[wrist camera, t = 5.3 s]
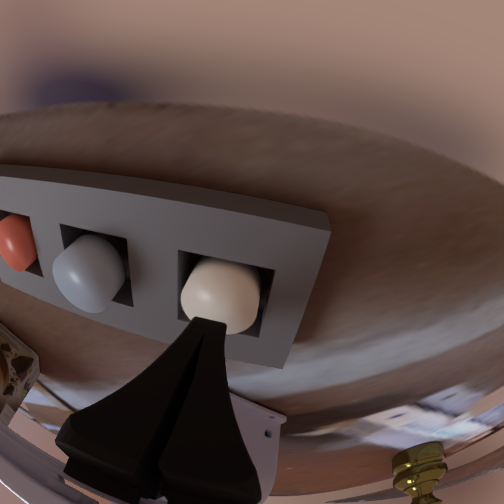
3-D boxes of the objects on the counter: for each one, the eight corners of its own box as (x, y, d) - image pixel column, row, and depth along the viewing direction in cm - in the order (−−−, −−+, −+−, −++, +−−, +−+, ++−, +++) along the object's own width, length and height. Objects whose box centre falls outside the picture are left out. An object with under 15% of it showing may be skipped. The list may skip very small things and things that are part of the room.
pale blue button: (123, 241, 14) (102, 263, 12) (129, 297, 15) (113, 321, 14) (68, 228, 14) (46, 247, 12) (78, 281, 15) (61, 302, 14)
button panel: (326, 212, 13) (331, 232, 12) (284, 344, 18) (282, 368, 16) (-6, 163, 14) (-26, 173, 12) (16, 268, 19) (1, 281, 17)
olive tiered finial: (387, 453, 27) (391, 522, 19) (444, 434, 24) (455, 504, 16) (393, 466, 30) (397, 524, 21) (442, 450, 27) (450, 509, 19)
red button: (40, 212, 15) (19, 227, 13) (49, 260, 16) (32, 277, 15) (8, 205, 15) (-11, 218, 13) (18, 250, 17) (1, 264, 15)
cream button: (267, 259, 14) (263, 285, 12) (255, 314, 16) (250, 340, 14) (194, 244, 14) (181, 267, 13) (191, 300, 16) (180, 324, 14)
